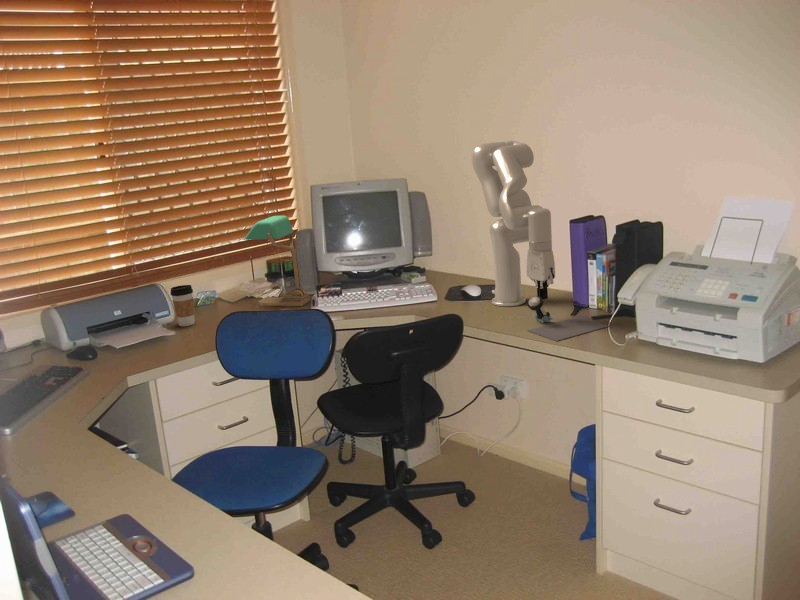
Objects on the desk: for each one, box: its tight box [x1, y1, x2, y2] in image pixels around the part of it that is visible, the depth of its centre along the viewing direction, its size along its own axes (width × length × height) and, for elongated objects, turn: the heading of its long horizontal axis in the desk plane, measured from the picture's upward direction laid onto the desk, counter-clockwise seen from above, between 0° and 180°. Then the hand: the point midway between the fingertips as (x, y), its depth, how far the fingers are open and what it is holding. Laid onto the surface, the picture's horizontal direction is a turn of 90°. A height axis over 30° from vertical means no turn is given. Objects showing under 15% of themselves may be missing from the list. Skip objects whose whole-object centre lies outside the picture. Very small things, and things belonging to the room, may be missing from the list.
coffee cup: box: [169, 284, 196, 327], centre depth 297 cm, size 8×8×15 cm
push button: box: [526, 295, 555, 324], centre depth 261 cm, size 7×5×10 cm
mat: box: [527, 316, 610, 342], centre depth 255 cm, size 14×22×1 cm, turn 119°
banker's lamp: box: [243, 215, 311, 307], centre depth 314 cm, size 16×21×35 cm
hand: (542, 298), depth 264 cm, fingers closed
